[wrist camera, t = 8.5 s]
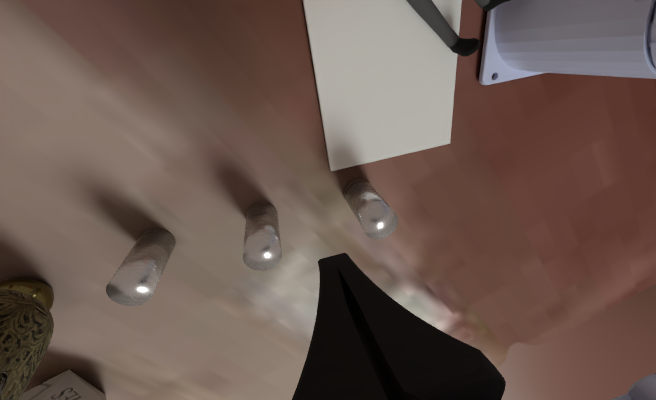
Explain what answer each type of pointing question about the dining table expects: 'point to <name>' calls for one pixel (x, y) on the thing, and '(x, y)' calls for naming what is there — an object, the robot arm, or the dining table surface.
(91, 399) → the die
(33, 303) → the cup
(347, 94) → the mat
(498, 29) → the robot arm
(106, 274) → the dining table surface
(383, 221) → the spacer field
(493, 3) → the person figure
